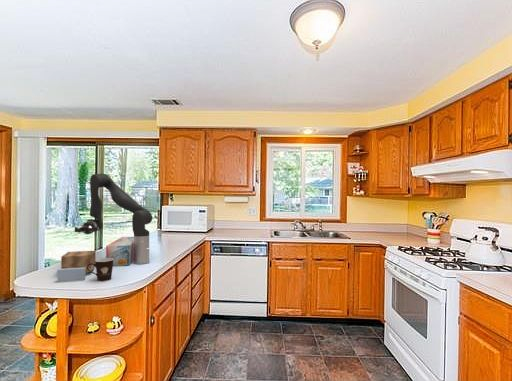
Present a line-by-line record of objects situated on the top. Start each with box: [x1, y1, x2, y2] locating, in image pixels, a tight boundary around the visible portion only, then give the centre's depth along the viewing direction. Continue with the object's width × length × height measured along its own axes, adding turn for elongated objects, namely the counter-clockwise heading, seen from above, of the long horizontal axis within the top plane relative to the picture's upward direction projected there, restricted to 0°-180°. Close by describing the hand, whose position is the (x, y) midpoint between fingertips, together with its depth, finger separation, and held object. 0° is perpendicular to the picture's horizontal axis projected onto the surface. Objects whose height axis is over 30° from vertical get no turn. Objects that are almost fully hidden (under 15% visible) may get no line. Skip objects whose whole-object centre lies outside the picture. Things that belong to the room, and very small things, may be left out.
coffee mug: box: [87, 257, 114, 282], centre depth 162 cm, size 12×9×10 cm
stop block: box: [56, 267, 86, 283], centre depth 160 cm, size 12×2×6 cm, turn 108°
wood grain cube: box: [60, 250, 96, 273], centre depth 175 cm, size 14×14×9 cm
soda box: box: [105, 236, 134, 267], centre depth 210 cm, size 41×14×13 cm, turn 11°
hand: (83, 230), depth 185 cm, fingers open, 4 cm apart
